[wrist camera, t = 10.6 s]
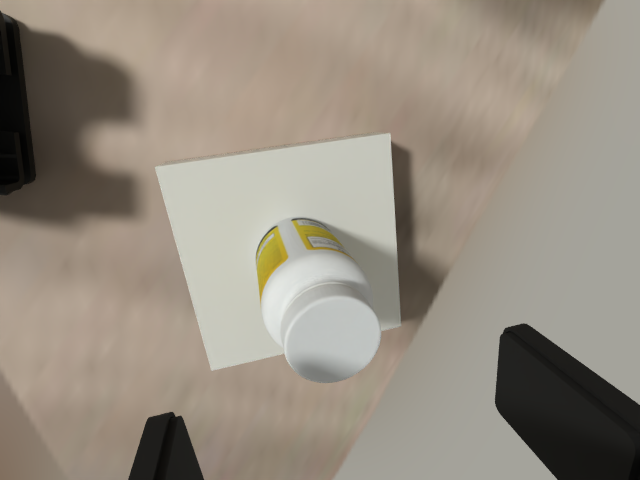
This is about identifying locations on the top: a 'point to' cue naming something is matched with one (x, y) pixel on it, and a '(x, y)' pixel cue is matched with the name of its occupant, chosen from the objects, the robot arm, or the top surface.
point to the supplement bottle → (316, 301)
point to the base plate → (266, 210)
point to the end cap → (13, 113)
